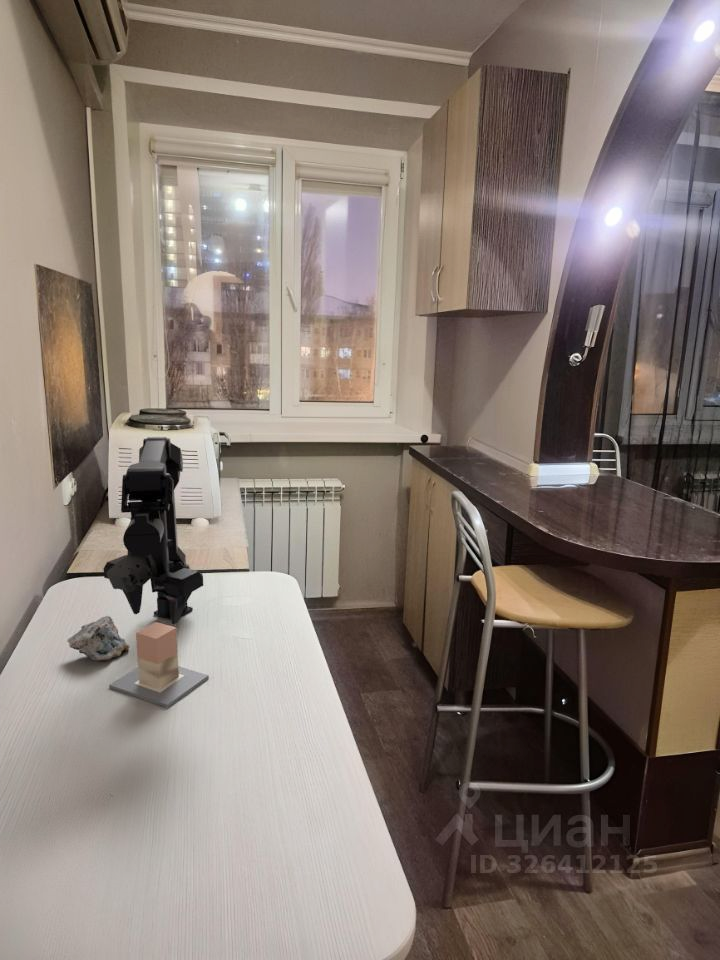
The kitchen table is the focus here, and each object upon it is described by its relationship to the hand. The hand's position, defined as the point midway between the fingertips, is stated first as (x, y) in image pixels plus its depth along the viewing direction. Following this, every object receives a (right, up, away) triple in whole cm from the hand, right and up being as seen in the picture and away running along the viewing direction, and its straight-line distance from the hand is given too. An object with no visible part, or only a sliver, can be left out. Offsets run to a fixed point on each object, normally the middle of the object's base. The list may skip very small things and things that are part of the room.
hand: (155, 618), depth 115 cm
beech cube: (0, -12, +3) cm, 12 cm away
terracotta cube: (0, -7, +2) cm, 7 cm away
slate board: (0, -13, +3) cm, 13 cm away
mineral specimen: (-16, -10, +13) cm, 23 cm away
